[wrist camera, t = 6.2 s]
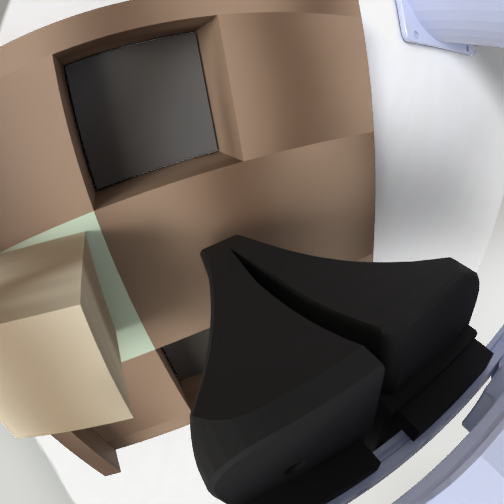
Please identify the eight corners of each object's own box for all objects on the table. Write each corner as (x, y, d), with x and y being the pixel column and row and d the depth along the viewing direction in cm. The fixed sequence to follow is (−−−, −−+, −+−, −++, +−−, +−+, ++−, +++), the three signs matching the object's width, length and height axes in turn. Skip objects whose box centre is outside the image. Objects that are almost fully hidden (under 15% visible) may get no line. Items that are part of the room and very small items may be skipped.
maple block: (85, 230, 9) (80, 304, 6) (116, 331, 11) (133, 417, 7) (-20, 260, 7) (-61, 338, 4) (24, 352, 9) (16, 438, 6)
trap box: (320, 6, 11) (384, -10, 8) (341, 313, 20) (381, 349, 17) (-70, 112, 6) (-125, 121, 3) (94, 419, 15) (105, 476, 12)
